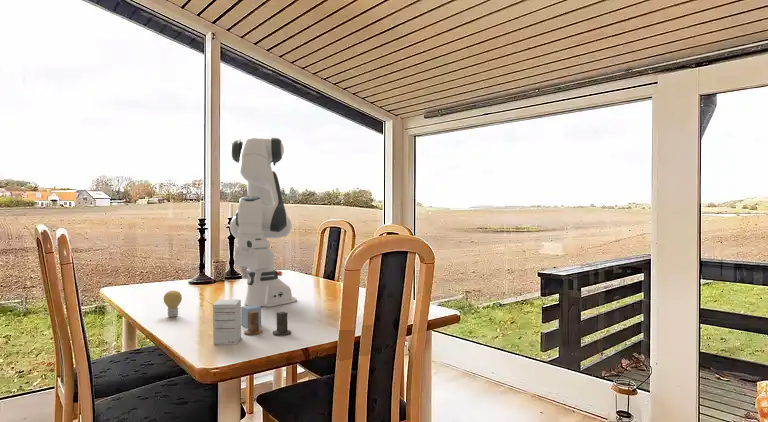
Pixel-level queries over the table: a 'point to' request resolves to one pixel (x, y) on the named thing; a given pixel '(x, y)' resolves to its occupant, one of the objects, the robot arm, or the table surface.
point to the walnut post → (253, 324)
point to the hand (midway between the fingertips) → (250, 280)
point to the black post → (282, 325)
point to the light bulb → (172, 302)
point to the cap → (245, 314)
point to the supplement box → (226, 322)
